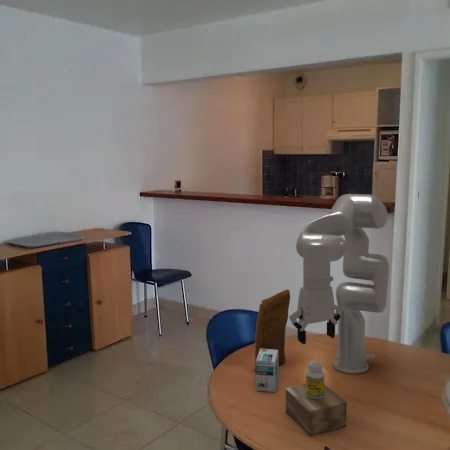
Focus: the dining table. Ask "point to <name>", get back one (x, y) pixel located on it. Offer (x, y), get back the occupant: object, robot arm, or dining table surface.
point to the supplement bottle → (315, 381)
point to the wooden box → (316, 417)
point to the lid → (315, 404)
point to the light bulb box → (267, 370)
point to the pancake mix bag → (272, 324)
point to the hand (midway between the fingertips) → (316, 339)
